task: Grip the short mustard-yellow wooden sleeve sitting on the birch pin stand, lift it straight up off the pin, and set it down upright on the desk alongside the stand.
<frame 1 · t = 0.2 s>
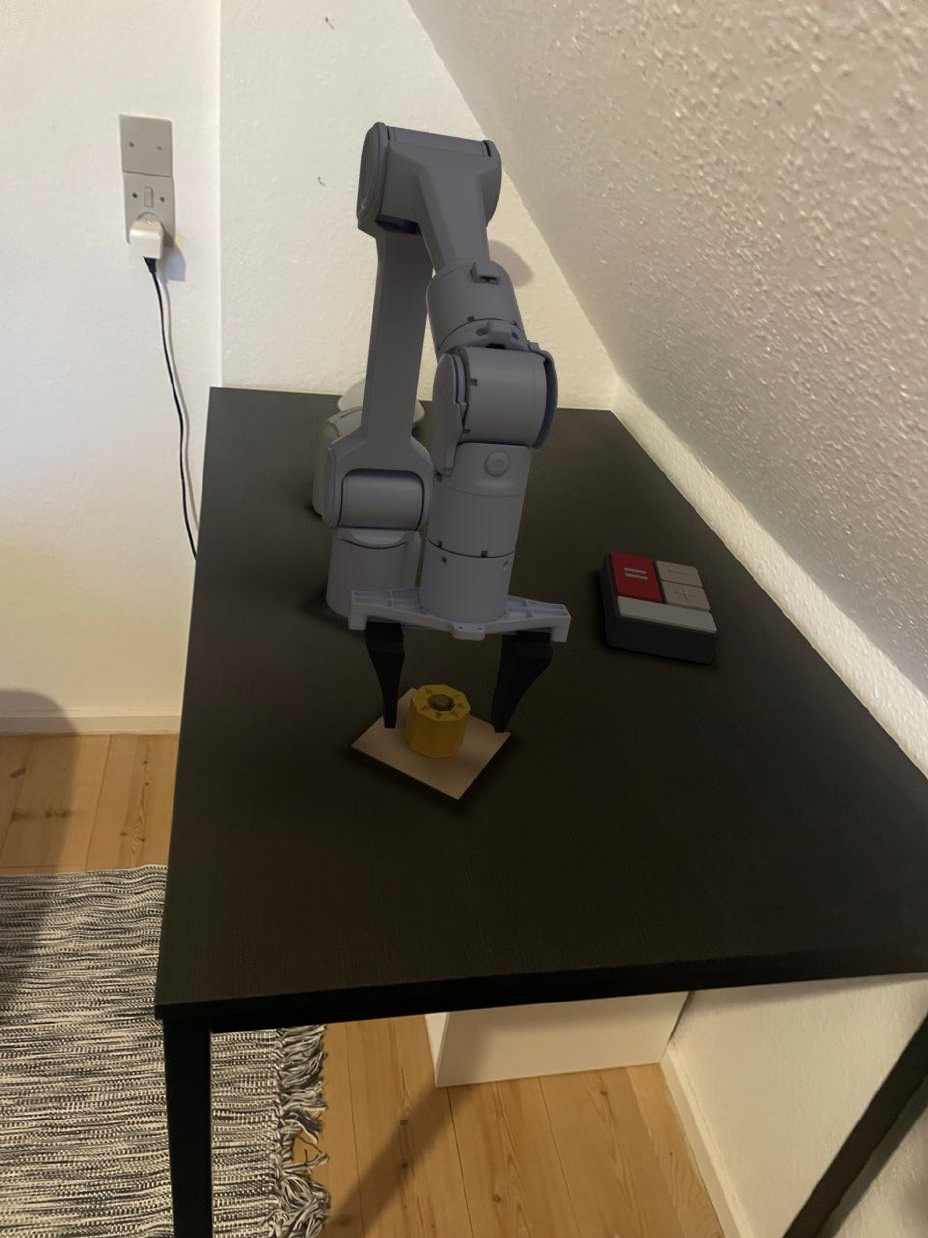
hand: (443, 723, 66), 10 cm above the table, tool pointing down, fingers open, 7 cm apart
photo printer: (350, 506, 113), on the table
stand: (431, 746, 79), on the table
calculator: (650, 619, 104), on the table
sleeve: (433, 739, 79), point 1 cm above the table, touching stand
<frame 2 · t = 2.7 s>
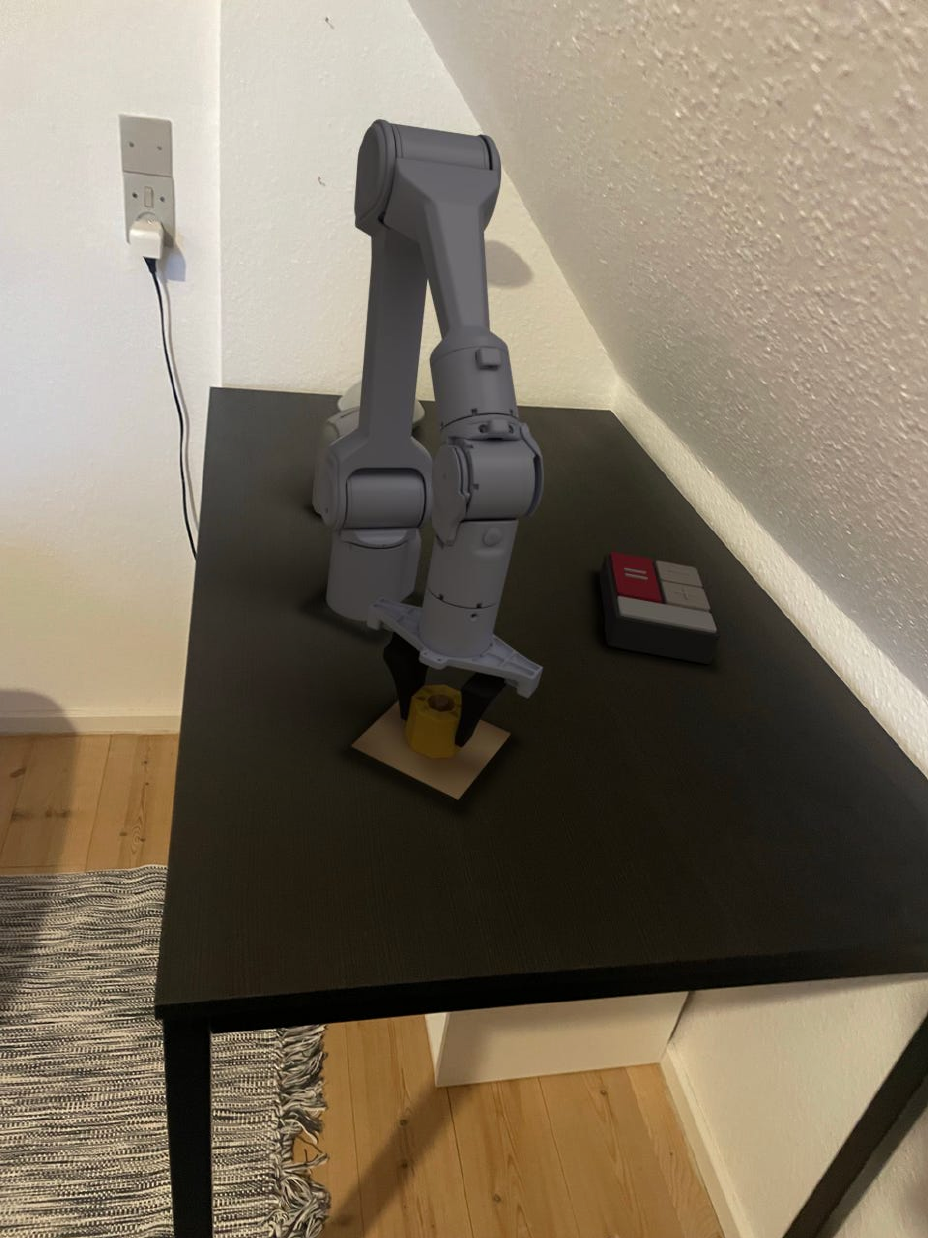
hand: (435, 726, 78), 2 cm above the table, tool pointing down, fingers closed on sleeve, 4 cm apart
sleeve: (433, 739, 79), point 1 cm above the table, touching gripper, stand
everything else where it was.
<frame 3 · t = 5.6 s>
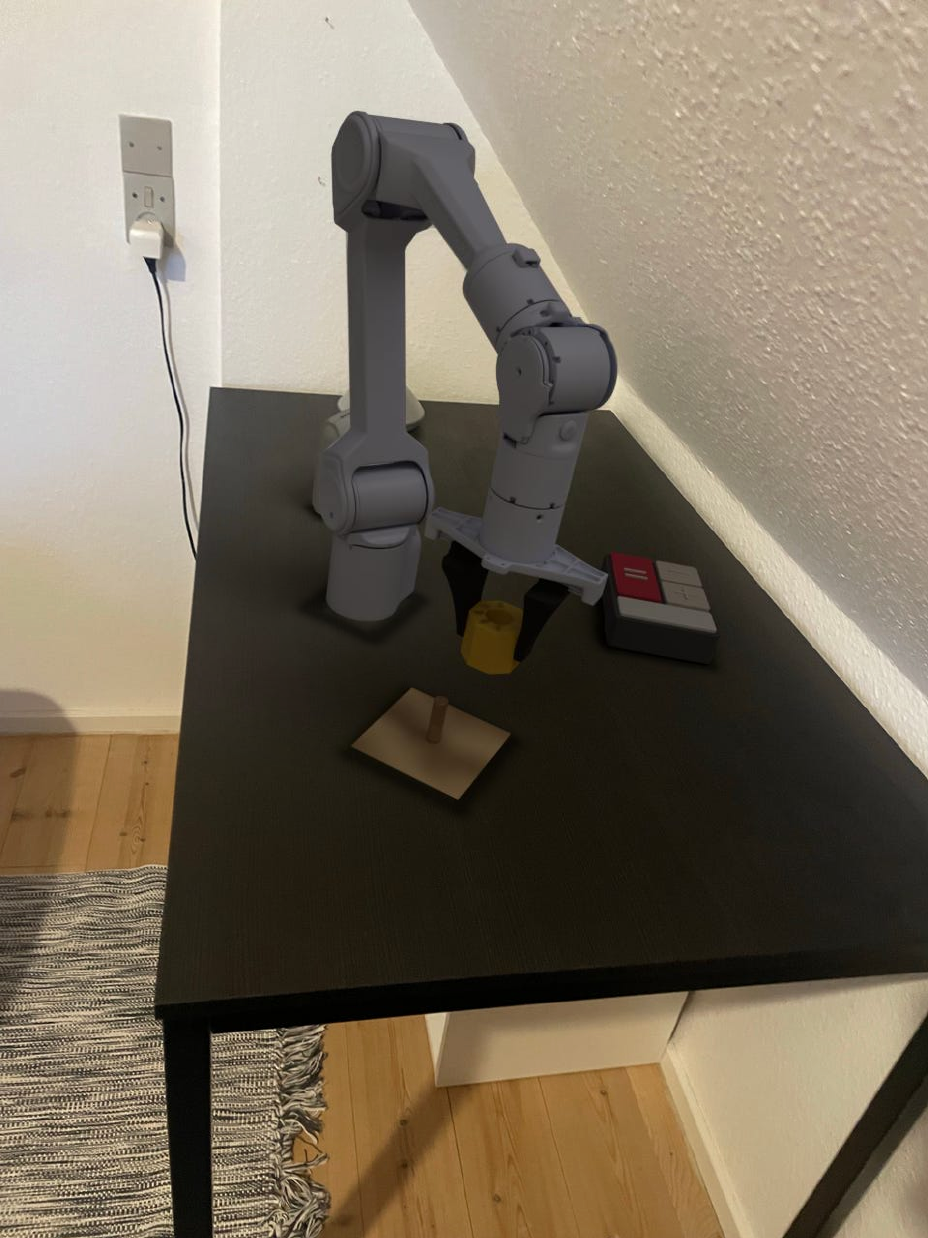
hand: (493, 642, 76), 10 cm above the table, tool pointing down, fingers closed on sleeve, 4 cm apart
sleeve: (489, 657, 77), point 8 cm above the table, touching gripper
everything else where it was.
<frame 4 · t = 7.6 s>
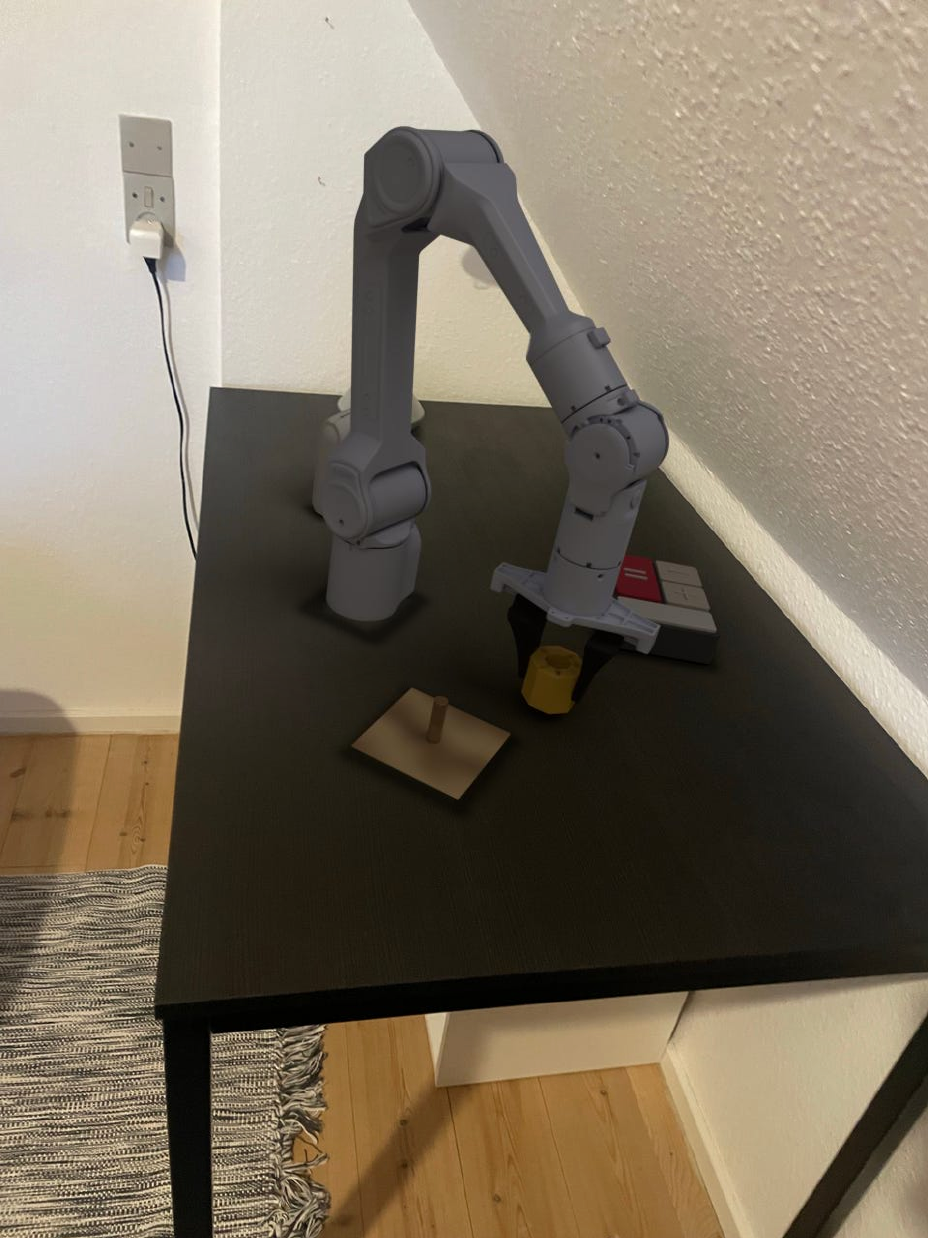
hand: (551, 684, 84), 4 cm above the table, tool pointing down, fingers closed on sleeve, 4 cm apart
sleeve: (548, 697, 84), point 2 cm above the table, touching gripper
everything else where it was.
when the fingers open (1 cm above the table, at t = 8.8 s): sleeve stays where it is, on the table.
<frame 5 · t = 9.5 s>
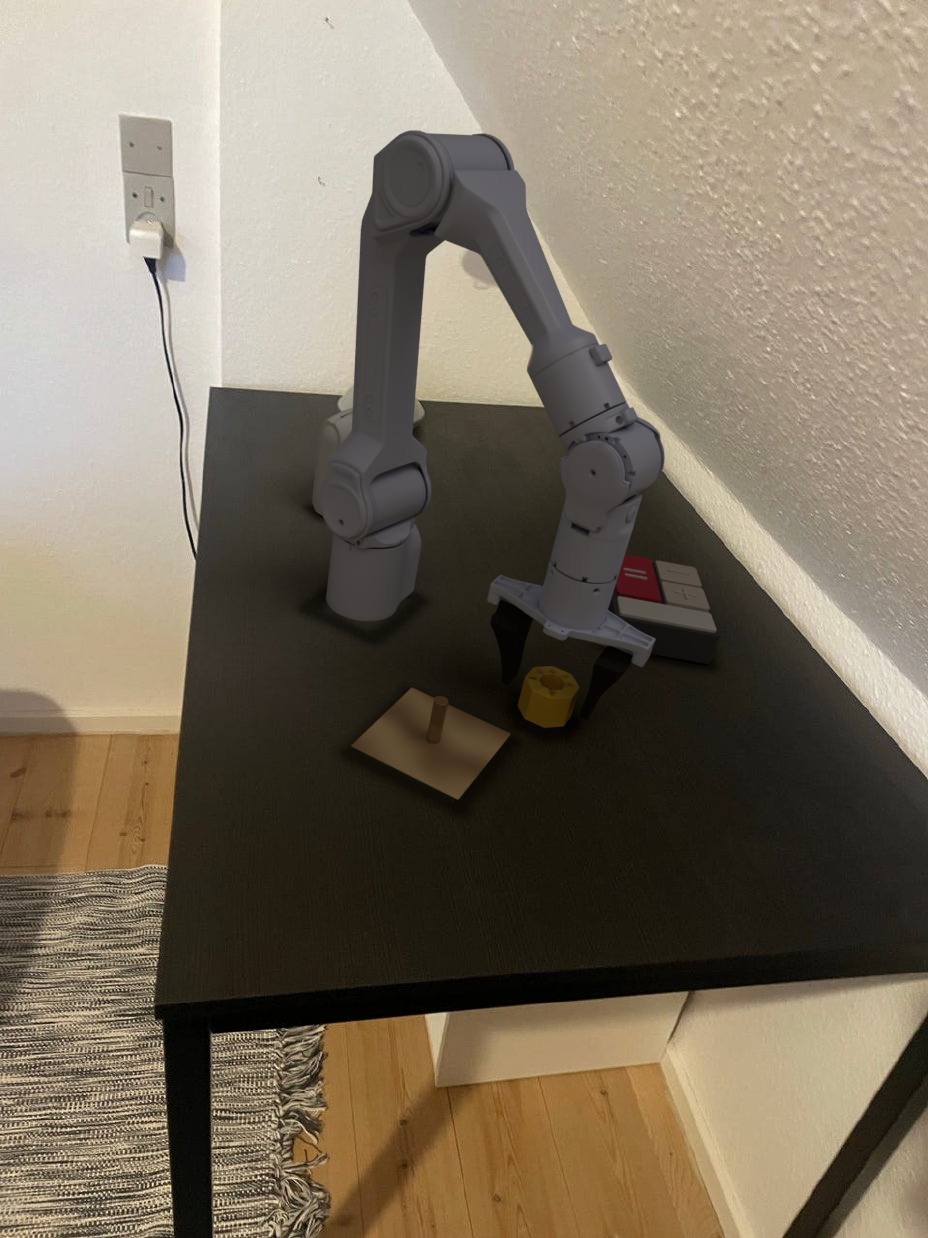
hand: (547, 695, 84), 2 cm above the table, tool pointing down, fingers open, 7 cm apart
sleeve: (542, 716, 86), on the table
everything else where it was.
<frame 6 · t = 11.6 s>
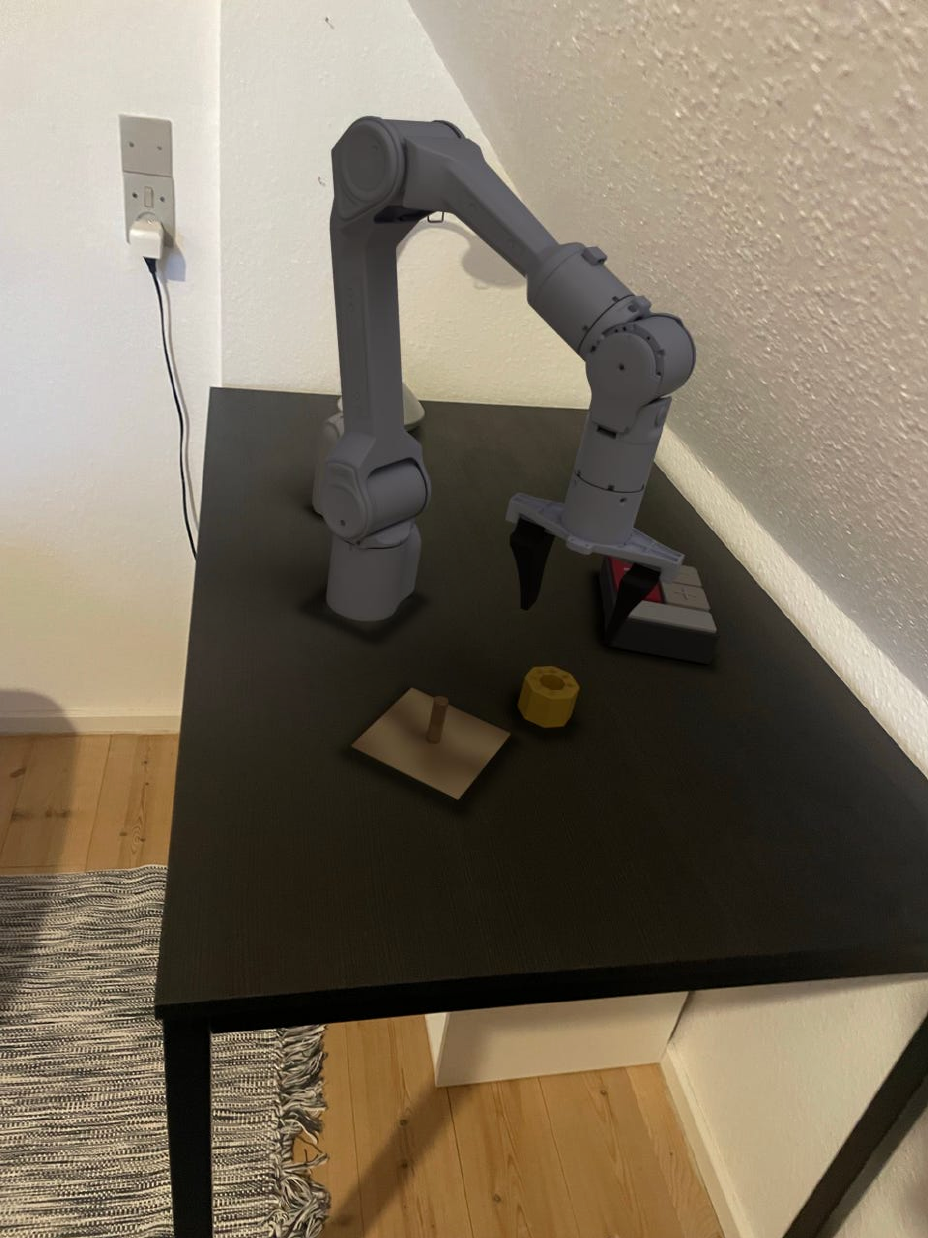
hand: (568, 621, 80), 10 cm above the table, tool pointing down, fingers open, 7 cm apart
nothing on the table moved.
at the end: sleeve inside the target area (0.1 cm from its centre), on the table; sleeve tilted 0°; the gripper is holding nothing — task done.
